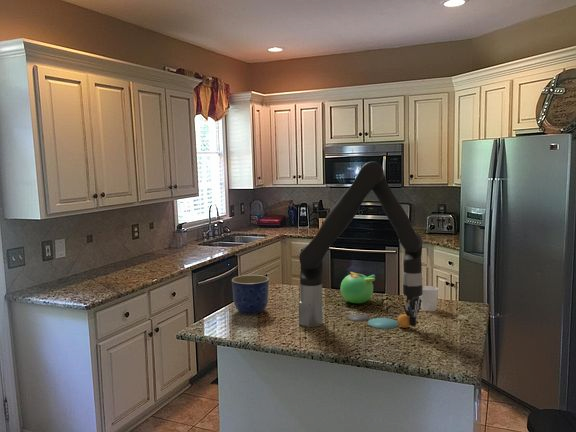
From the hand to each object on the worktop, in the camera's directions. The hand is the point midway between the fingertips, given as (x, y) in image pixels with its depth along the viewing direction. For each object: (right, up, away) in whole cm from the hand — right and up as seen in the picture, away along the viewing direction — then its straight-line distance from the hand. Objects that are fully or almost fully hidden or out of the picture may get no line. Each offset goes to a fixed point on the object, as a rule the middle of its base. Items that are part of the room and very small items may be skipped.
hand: (412, 325), depth 188 cm
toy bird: (-16, +2, +39) cm, 42 cm away
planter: (-67, 0, +27) cm, 72 cm away
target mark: (-10, -1, +8) cm, 13 cm away
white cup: (+14, +1, +26) cm, 30 cm away
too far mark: (-20, -1, +15) cm, 25 cm away
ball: (-3, +1, +3) cm, 4 cm away
